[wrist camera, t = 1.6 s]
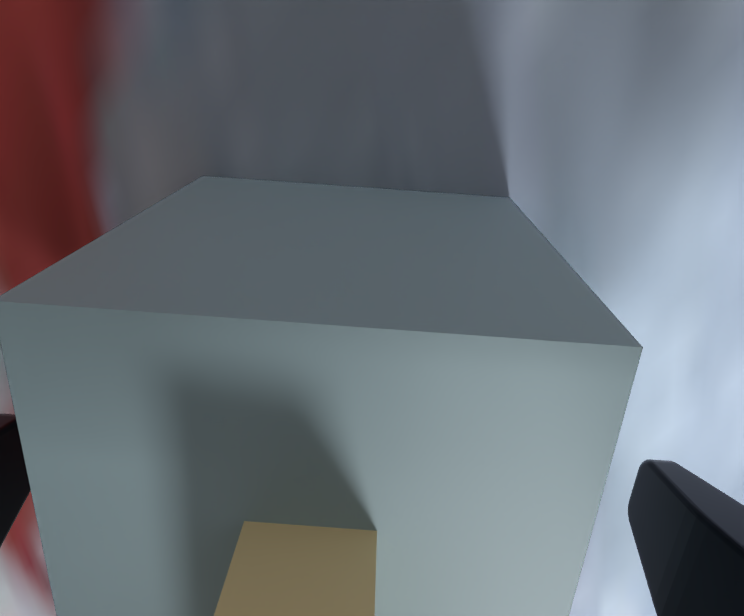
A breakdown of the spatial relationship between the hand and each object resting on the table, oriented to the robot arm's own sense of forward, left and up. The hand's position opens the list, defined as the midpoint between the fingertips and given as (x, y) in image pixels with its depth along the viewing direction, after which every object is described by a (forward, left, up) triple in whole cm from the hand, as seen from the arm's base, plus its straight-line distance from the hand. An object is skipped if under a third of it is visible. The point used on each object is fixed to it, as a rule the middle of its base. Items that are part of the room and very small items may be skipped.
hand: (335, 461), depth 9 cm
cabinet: (0, 0, -2) cm, 3 cm away
